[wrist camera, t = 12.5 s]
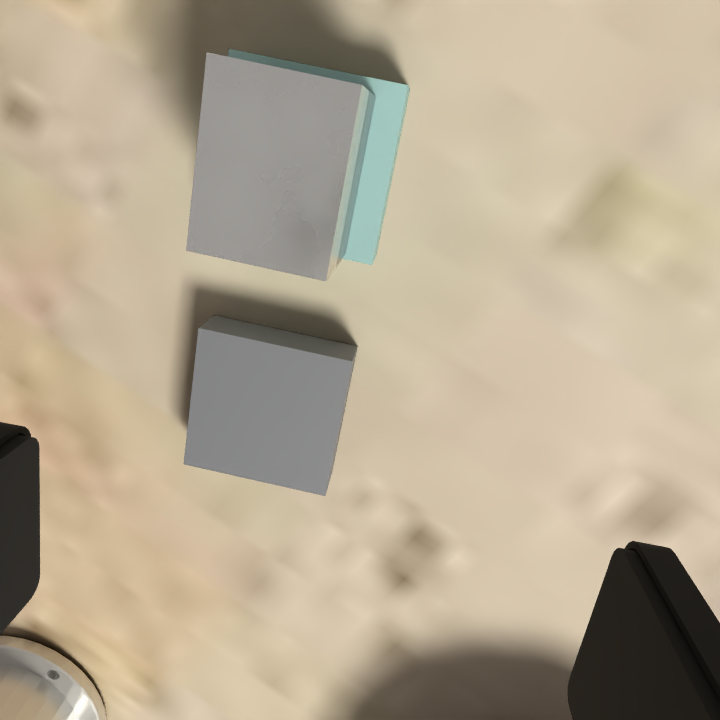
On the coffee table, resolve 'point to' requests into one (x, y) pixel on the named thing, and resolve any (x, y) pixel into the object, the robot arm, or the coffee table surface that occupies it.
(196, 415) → the stand
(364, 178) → the stand
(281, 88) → the block
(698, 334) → the coffee table surface
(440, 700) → the coffee table surface
